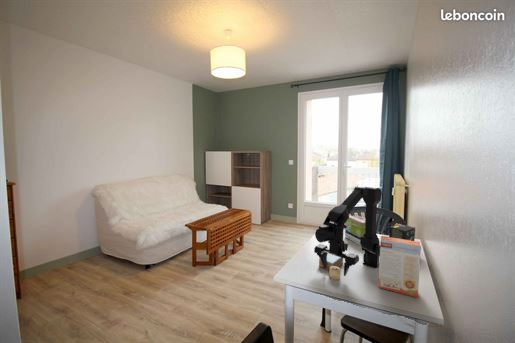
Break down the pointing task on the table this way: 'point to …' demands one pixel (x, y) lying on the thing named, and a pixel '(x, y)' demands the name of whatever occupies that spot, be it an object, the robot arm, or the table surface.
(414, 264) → the cracker box
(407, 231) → the tampon box
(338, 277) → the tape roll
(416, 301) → the table surface
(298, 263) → the table surface
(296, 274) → the table surface
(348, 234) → the tea box
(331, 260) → the lid
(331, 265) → the walnut box
